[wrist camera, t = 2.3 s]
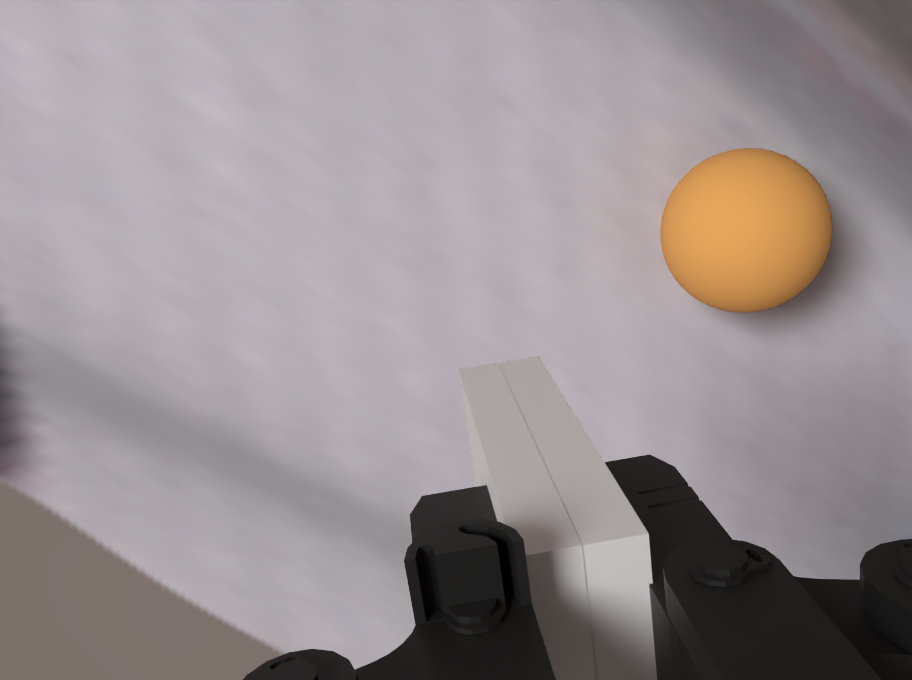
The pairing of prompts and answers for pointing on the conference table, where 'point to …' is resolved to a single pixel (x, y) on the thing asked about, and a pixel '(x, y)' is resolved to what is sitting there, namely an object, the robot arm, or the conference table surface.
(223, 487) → the conference table surface
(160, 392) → the conference table surface
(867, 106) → the conference table surface
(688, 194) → the ball
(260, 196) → the conference table surface
